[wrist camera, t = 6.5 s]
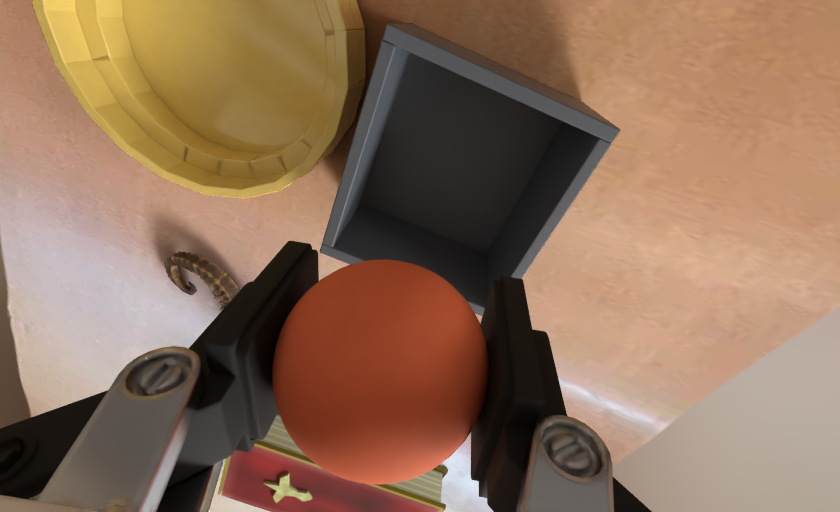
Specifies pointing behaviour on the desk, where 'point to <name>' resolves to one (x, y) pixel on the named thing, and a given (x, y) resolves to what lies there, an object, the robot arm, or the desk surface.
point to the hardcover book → (317, 482)
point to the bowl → (214, 83)
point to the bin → (459, 164)
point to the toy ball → (380, 371)
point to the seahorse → (201, 276)
